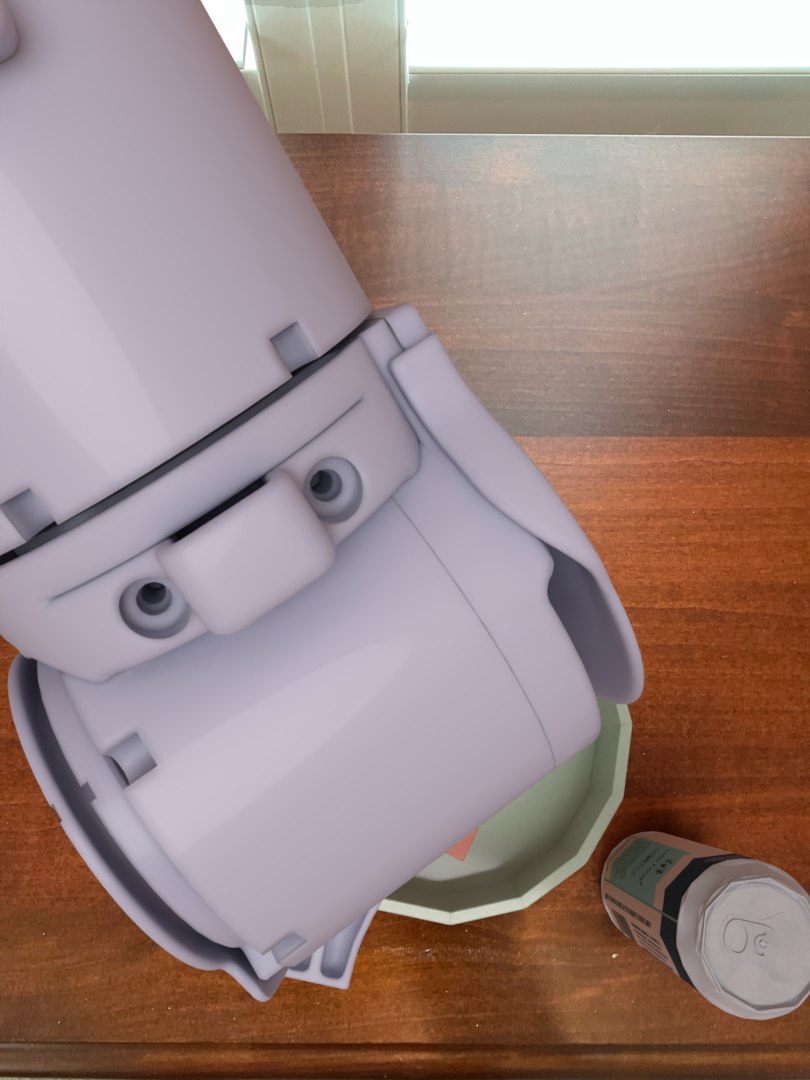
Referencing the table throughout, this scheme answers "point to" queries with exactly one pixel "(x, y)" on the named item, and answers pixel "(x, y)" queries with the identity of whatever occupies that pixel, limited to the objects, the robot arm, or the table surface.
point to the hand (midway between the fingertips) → (375, 725)
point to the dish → (528, 837)
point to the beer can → (714, 921)
